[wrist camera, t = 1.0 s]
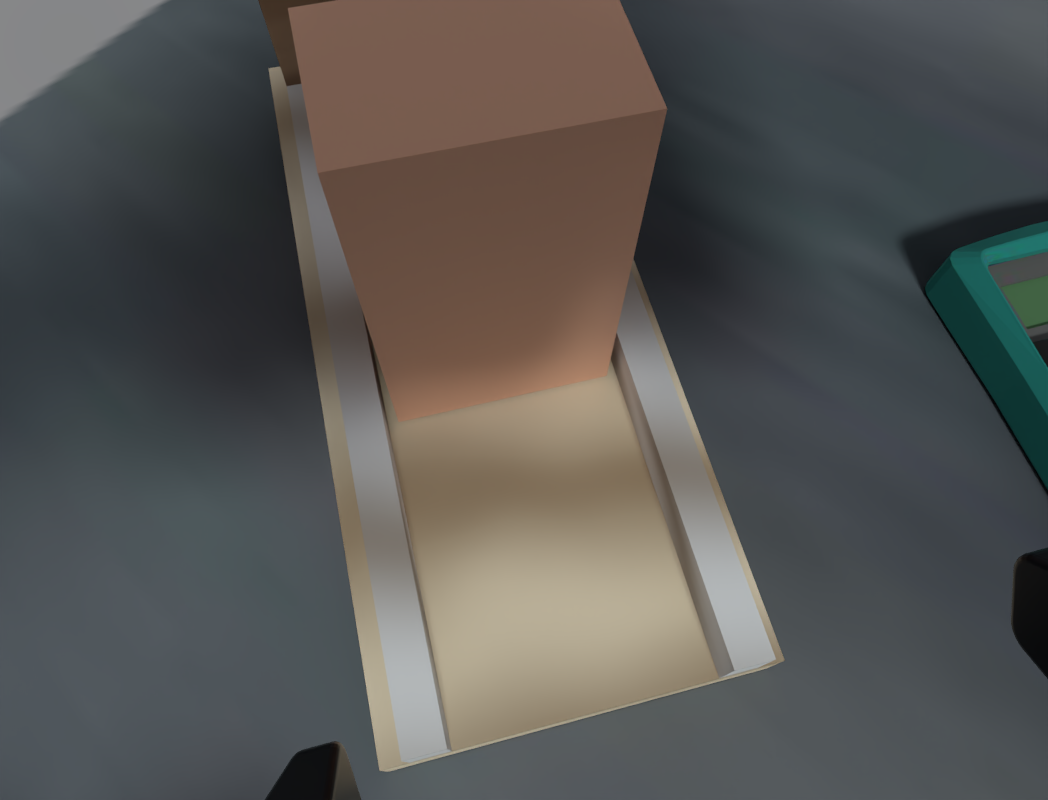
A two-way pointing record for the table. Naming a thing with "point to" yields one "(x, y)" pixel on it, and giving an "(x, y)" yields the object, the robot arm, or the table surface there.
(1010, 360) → the digital multimeter
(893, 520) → the table surface
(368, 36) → the brown rectangular block
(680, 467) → the rail
